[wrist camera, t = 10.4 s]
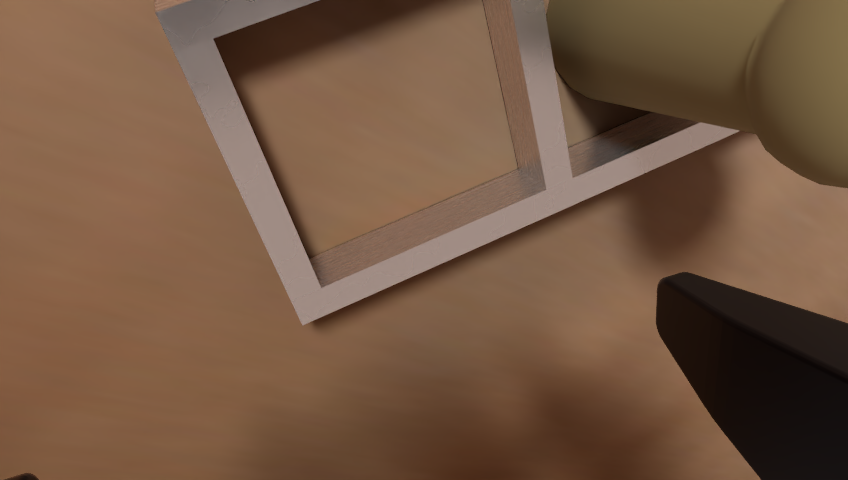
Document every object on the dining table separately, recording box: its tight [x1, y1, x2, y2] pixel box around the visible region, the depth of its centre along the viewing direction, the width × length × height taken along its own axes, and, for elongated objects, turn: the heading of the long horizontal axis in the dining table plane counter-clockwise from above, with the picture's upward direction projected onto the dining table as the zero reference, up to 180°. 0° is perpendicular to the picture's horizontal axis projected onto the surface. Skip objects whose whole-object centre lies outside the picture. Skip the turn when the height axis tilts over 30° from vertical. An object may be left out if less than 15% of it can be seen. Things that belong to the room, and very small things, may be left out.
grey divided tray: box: [155, 0, 739, 325], centre depth 21 cm, size 19×10×2 cm, turn 105°
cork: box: [547, 0, 848, 188], centre depth 18 cm, size 6×6×11 cm
